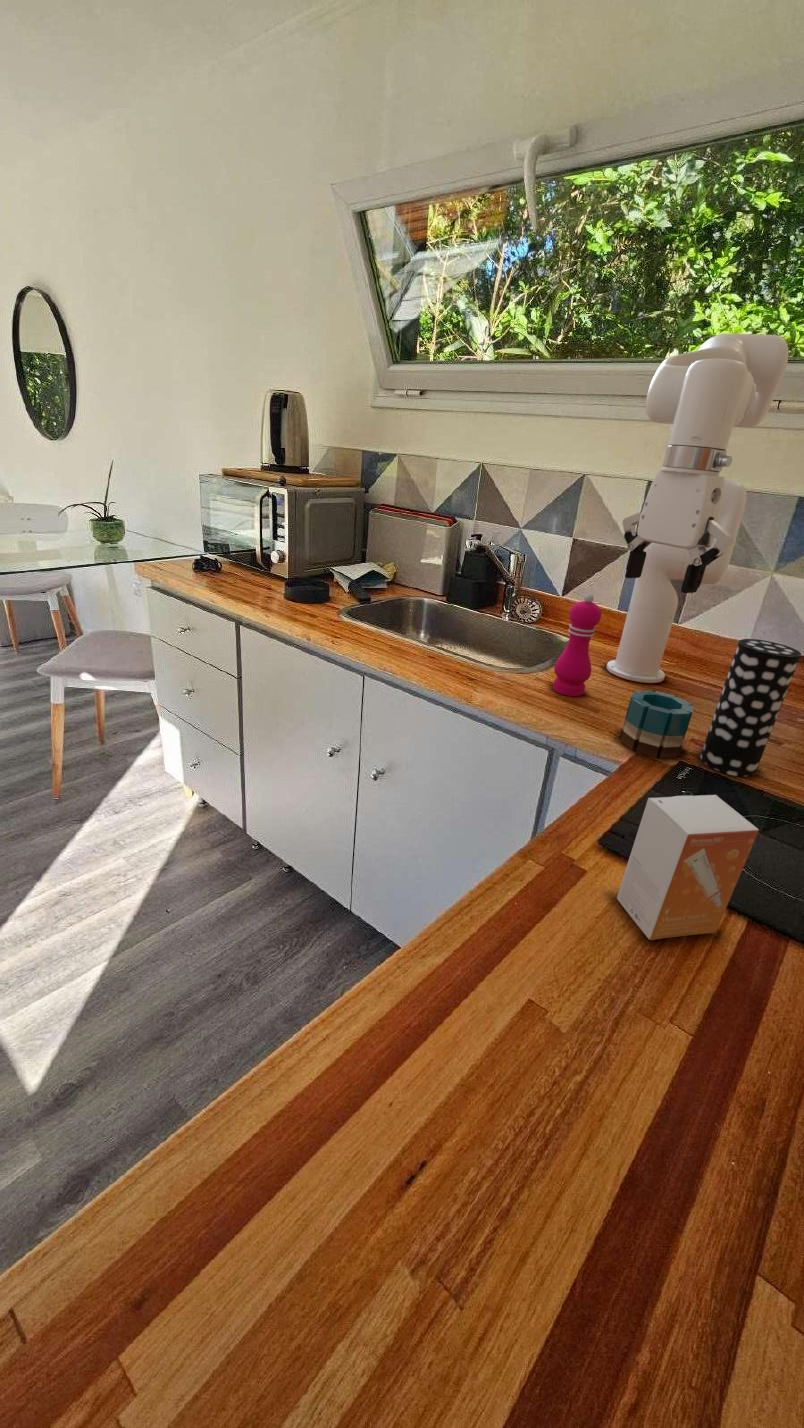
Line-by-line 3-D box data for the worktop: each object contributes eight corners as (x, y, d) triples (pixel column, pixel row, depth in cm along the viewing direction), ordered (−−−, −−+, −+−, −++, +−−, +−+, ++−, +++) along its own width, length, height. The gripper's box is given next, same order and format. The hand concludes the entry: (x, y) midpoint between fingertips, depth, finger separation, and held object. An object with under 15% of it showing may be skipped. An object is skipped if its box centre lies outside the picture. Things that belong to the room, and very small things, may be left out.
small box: (649, 943, 59) (687, 834, 53) (614, 898, 64) (646, 796, 59) (718, 934, 61) (761, 829, 55) (678, 892, 66) (714, 792, 61)
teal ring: (630, 706, 106) (636, 686, 104) (688, 721, 102) (695, 700, 100) (621, 725, 98) (627, 702, 96) (684, 741, 94) (691, 719, 92)
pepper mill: (587, 699, 118) (611, 600, 110) (550, 693, 119) (571, 595, 111) (584, 687, 124) (607, 592, 116) (549, 681, 125) (569, 587, 117)
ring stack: (625, 727, 107) (630, 706, 106) (681, 742, 103) (688, 721, 102) (615, 746, 99) (621, 725, 98) (676, 764, 96) (684, 741, 94)
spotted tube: (750, 758, 100) (793, 645, 92) (760, 781, 93) (808, 660, 84) (697, 747, 102) (734, 635, 94) (703, 768, 95) (744, 649, 87)
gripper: (768, 469, 79) (727, 597, 86) (655, 459, 91) (627, 571, 98) (738, 465, 75) (697, 600, 82) (624, 456, 87) (597, 573, 94)
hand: (659, 584), depth 90 cm, fingers open, 9 cm apart
